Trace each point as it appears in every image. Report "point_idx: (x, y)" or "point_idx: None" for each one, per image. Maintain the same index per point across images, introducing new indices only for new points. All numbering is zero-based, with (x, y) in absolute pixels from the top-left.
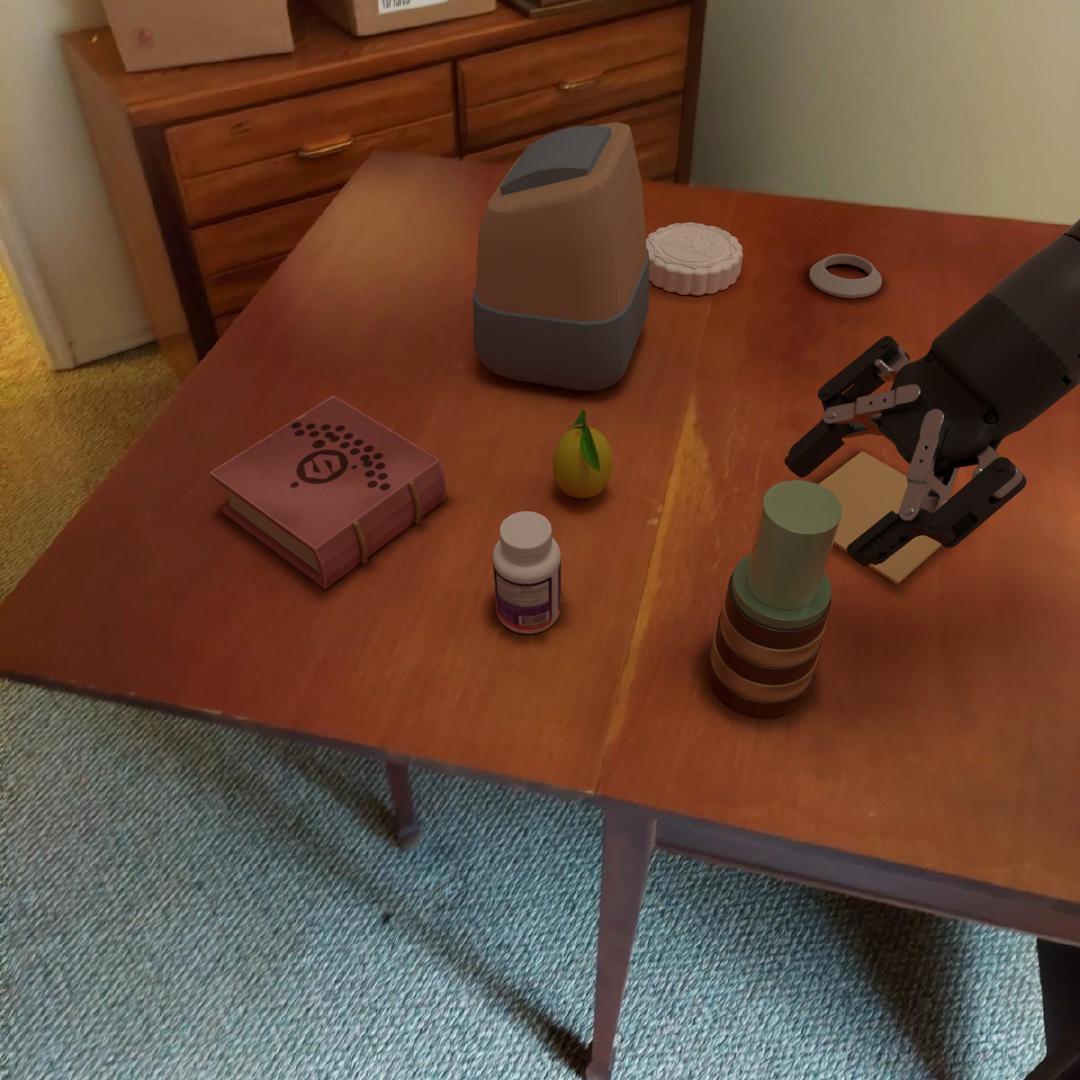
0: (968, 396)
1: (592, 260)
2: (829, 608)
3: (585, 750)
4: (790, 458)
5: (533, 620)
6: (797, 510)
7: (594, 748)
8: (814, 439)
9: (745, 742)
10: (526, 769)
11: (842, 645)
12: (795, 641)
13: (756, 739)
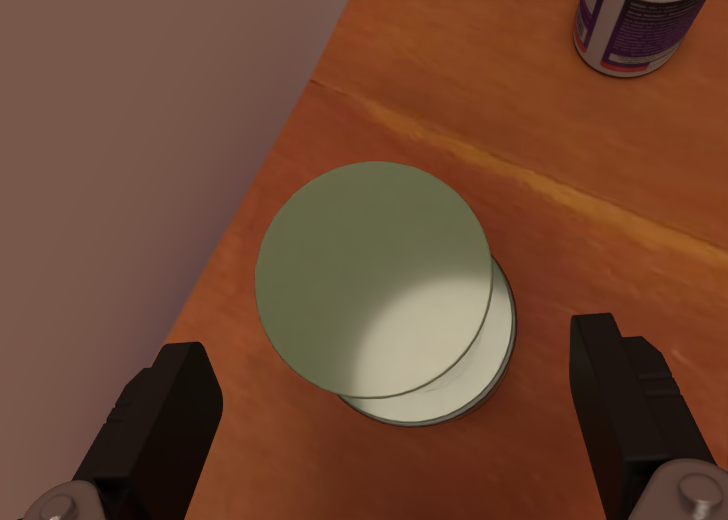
0: None
1: None
2: (344, 401)
3: (364, 75)
4: (597, 323)
5: (577, 13)
6: (356, 253)
7: (364, 86)
8: (617, 401)
9: None
10: (355, 4)
11: (455, 504)
12: None
13: None
